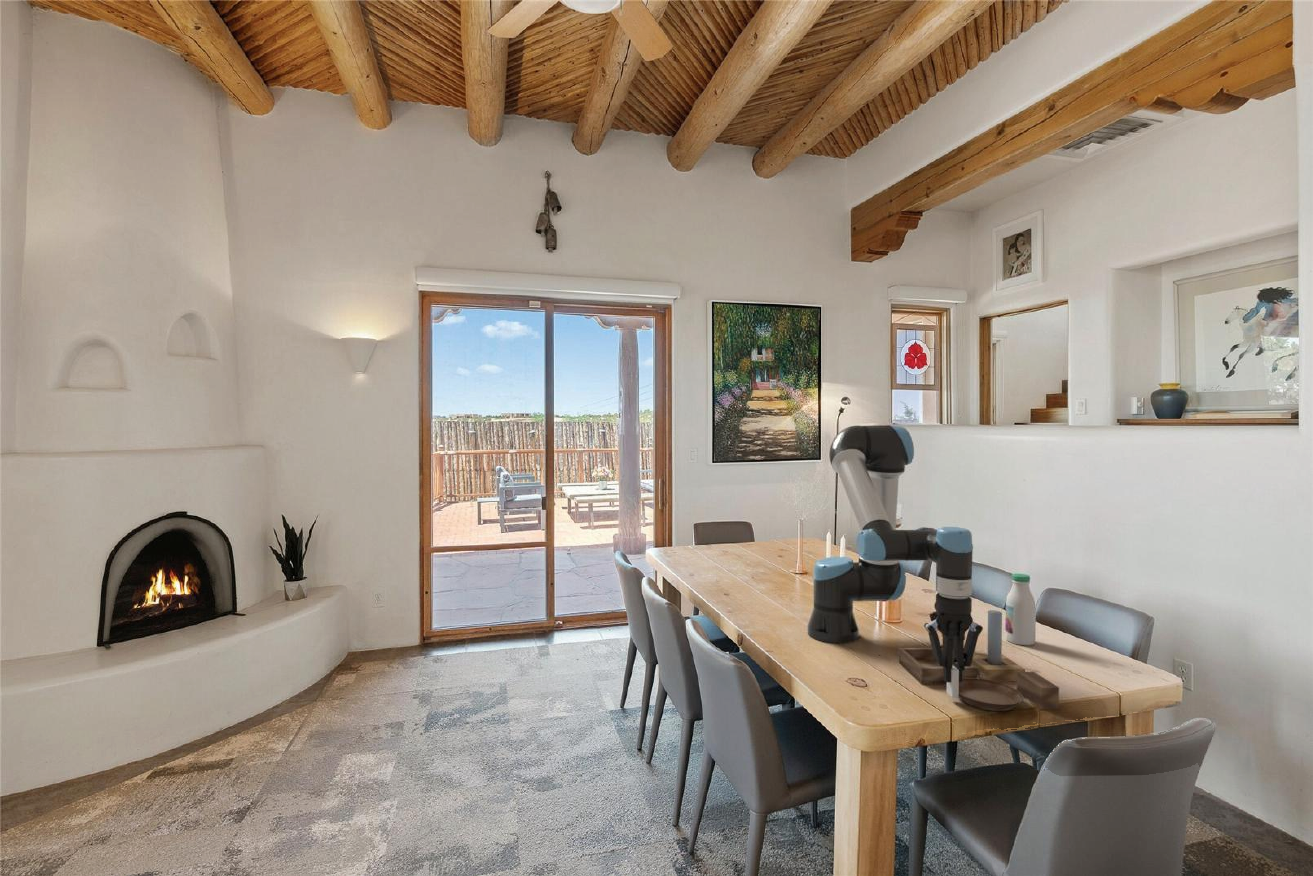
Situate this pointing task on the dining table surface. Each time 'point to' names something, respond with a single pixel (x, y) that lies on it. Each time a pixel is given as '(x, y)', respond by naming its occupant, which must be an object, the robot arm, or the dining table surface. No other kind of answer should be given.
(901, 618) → the dining table surface
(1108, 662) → the dining table surface
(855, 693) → the dining table surface
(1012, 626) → the milk bottle
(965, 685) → the saucer
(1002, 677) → the socket block
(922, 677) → the tray
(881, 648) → the dining table surface
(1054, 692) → the block
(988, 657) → the dowel
